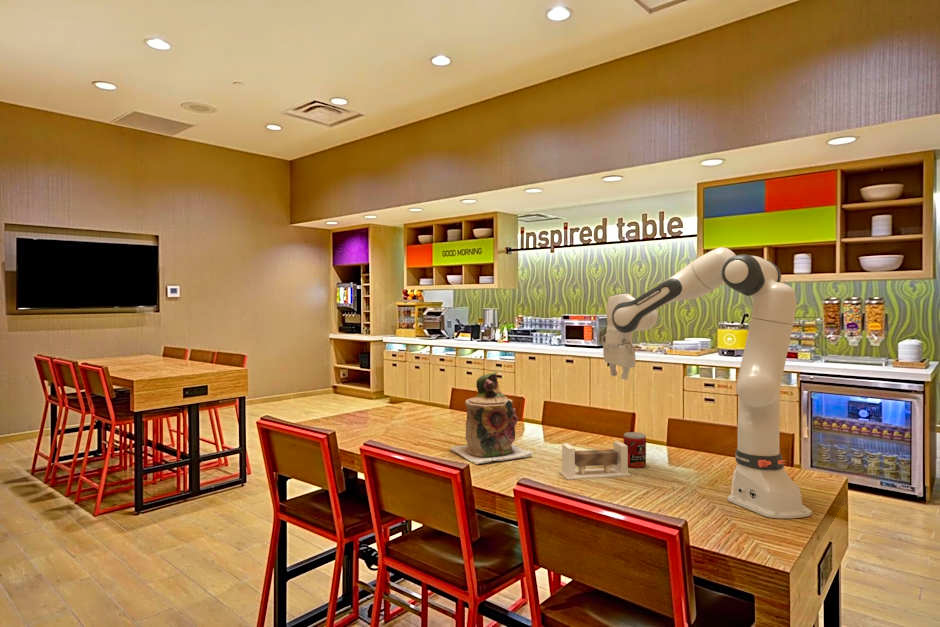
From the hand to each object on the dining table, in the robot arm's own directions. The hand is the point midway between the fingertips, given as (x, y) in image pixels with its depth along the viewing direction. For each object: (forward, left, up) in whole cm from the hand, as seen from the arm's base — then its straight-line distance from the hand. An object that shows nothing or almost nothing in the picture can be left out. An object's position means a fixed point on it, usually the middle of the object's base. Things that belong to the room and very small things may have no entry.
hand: (619, 377), depth 209 cm
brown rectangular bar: (-10, +13, -28) cm, 32 cm away
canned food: (-2, -5, -31) cm, 32 cm away
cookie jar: (+22, +43, -31) cm, 57 cm away
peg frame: (-10, +13, -31) cm, 35 cm away
